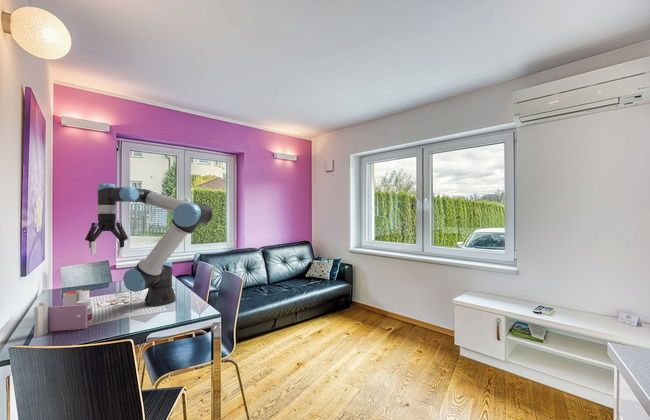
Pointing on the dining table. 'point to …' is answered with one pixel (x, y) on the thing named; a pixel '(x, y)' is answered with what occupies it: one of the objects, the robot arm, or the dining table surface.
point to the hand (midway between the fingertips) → (106, 253)
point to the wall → (42, 314)
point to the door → (67, 317)
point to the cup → (71, 298)
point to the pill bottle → (84, 302)
